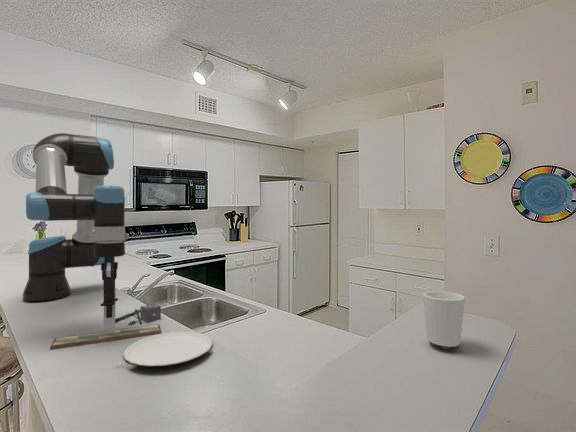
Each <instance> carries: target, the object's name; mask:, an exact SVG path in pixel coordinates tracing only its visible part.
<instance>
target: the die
mask: <svg viewBox="0 0 576 432" xmlns="http://www.w3.org/2000/svg"><path fill="white" fill-rule="evenodd" d="M139 310H142V311H141V312H140V313H139V317H140V319H141V322H144V323H146V324H148V323H152V322H155V321H158V320H161V318H162V317H161V316H162V313H161V312H162V308H161V305H159V304H156V303H151V304H146V305H141V306H140V307H139Z"/></svg>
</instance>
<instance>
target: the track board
mask: <svg viewBox="0 0 576 432" xmlns="http://www.w3.org/2000/svg"><path fill="white" fill-rule="evenodd" d="M158 334H162V329H161V325H160V323H157V324H148V325H141V326H140V325H139V326H131V327H126V328H119V329H118V328H117V329H109V330H103V331H96V332H89V333H82V334H75V335H74V334H73V335H67V336H61V337H60V336H59V337H58V336H57V337H55V338H54V339H53V340H52V343H51V344H50V346H49V350H51V351H52V350H58V349H64V348H65V349H66V348H69V347H71V348H72V347H78V346H83V345H91V344H98V343H104V342H109V341H110V342H111V341H117V340H125V339H126V340H127V339H131V338H139V337H145V336H153V335H158Z"/></svg>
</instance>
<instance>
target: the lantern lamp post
mask: <svg viewBox="0 0 576 432" xmlns="http://www.w3.org/2000/svg"><path fill="white" fill-rule="evenodd" d="M141 311H142V310H140V308H139V309H136V308H135V309H134V311H132V312H131V313H130V312H129V313H127V314H125V315H122V316H120V317H117V318H116V317H115V324H117V323H120V322H121V321H123V320H124V321H125V320H128V319H129V318H131V317H134V318H136V319H137V320H133V321H130V322H129V323H128V324H127V325H128V326H131V327H133V325H136V324H137V323H139V325H142V324H143V321H142V320H141V319H140V312H141Z"/></svg>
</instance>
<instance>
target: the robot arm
mask: <svg viewBox="0 0 576 432" xmlns="http://www.w3.org/2000/svg"><path fill="white" fill-rule="evenodd" d="M32 161H33V162H34V164H35V192H29V193H27V194H26V196H25V213H26V215H25V216H26V218H27V219H28V220H30V221H43V222H47V221H49V222H50V221H52V222H53V221H76V231H75V232H74V233H73V234H72V236H71V239H70V238H68V239H67V238H66V236H64V235H59V236H58V235H57V236H51V237H50V236H49V237H43V238H38V239H33V240H31V241H30V242H29V244H28V252H27V254H28V279H27V281H26V285H25V288H24V289H23V293H22V300H24V301H27V302H28V301H29V302H38V301H39V302H40V301H48V300H55V299H60V298H64V297H67V296H70V295H71V286H70V284H69V281H68V278H67V277H66V269H72V268H85V267H87V268H88V267H96V266H100V270H101V280H102V281H103V283H102V284H103V302H102V303H101V304H100V307H103V331H108V330H116V323H115V319H116V302H118V301H119V298H116V279H117V276H118V272H117V271H118V267H119V262H118V261H116V262H115V260H116V257H117V258H118V257H123V256H124V255H125V254H126V251H125V250H126V249H125V248H126V247H125V245H126V243H125V242H124V241H125V239H126V226H125V210H126V207H125V206H126V205H125V204H126V197H125V189H124V188H123V186H118V185H105V183H104V182H105V177H107V176H108V175H109V172H110V170H113V169H114V167H115V158H114V150H113V146H112V142H111V141H110V139H107V138H103V137H98V136H91V135H82V134H71V133H64V132H62V133H59V132H58V133H54V134H50V135H48V136H45V137H43V138H42V139H40V140H39V141H38V142H37V143H36V144H35V145H34V147H33V149H32ZM65 166H67V167H73V172H74V173H75V174H76V175H77V176H78V179H77V181H78V182H77V194H76V193H68V190H67V178H66V168H65Z"/></svg>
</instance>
